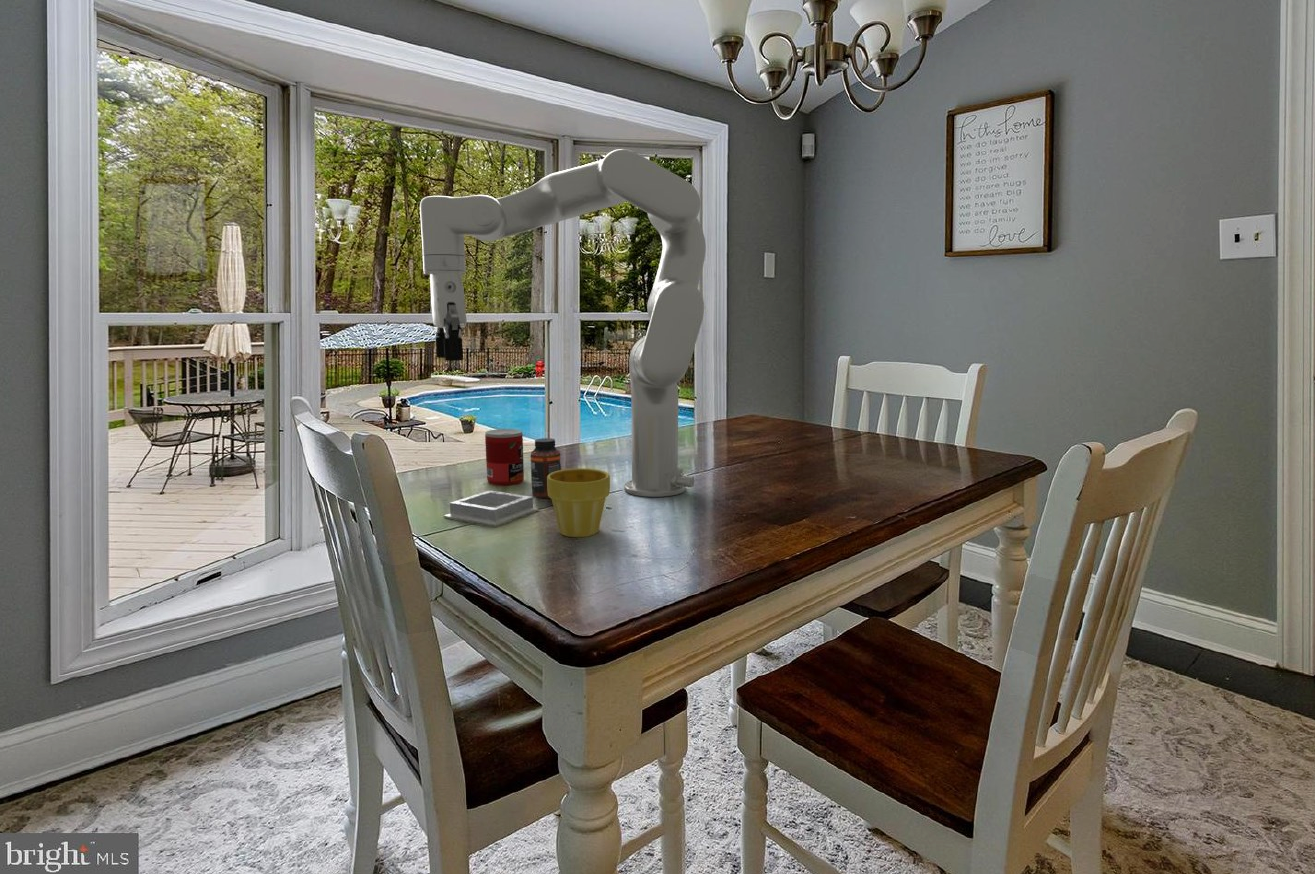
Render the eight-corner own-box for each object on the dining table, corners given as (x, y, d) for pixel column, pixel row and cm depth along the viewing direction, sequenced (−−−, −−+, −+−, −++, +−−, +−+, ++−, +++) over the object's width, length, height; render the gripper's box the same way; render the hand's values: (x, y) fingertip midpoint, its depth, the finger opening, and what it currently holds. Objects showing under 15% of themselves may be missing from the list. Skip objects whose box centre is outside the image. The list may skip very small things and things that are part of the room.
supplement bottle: (566, 492, 149) (565, 437, 147) (553, 499, 144) (551, 443, 142) (540, 490, 151) (539, 436, 149) (526, 497, 146) (524, 441, 144)
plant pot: (611, 540, 119) (610, 481, 117) (546, 542, 118) (544, 482, 116) (610, 522, 129) (609, 467, 127) (550, 523, 128) (549, 468, 126)
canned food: (516, 486, 154) (514, 435, 153) (480, 485, 156) (478, 433, 154) (529, 478, 162) (528, 429, 160) (495, 477, 163) (493, 428, 162)
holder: (539, 510, 136) (538, 496, 136) (495, 527, 126) (494, 511, 125) (489, 502, 142) (489, 488, 141) (444, 517, 131) (443, 503, 131)
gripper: (474, 264, 130) (478, 361, 133) (456, 269, 146) (461, 355, 149) (430, 263, 127) (436, 362, 130) (417, 268, 143) (422, 357, 146)
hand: (449, 358), depth 139 cm, fingers open, 9 cm apart
